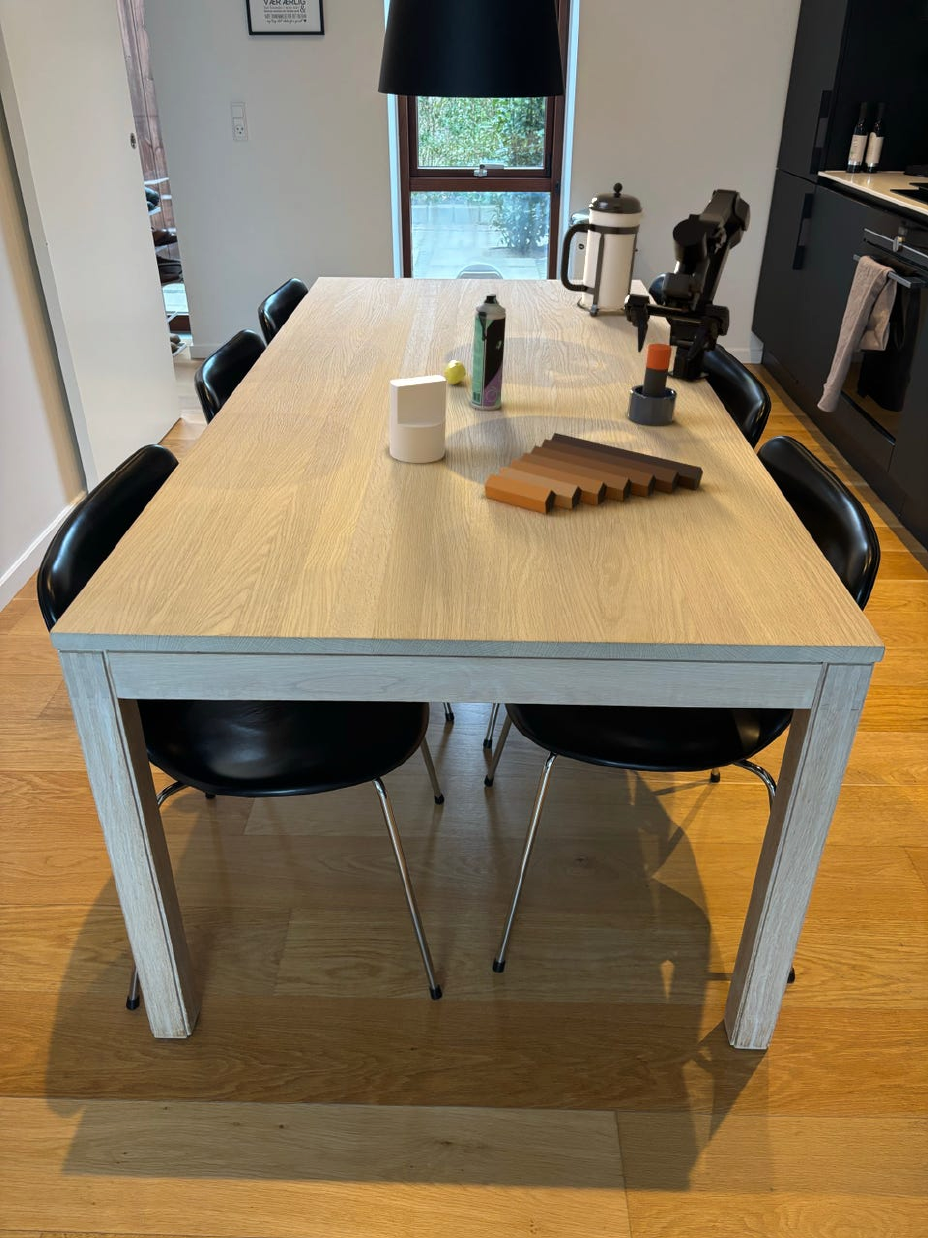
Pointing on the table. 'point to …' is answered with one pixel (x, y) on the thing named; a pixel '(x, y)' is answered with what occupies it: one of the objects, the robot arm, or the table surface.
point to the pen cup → (651, 407)
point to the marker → (656, 370)
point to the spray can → (488, 354)
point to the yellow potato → (455, 372)
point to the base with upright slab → (418, 419)
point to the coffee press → (606, 251)
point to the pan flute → (585, 475)
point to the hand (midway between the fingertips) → (663, 355)
